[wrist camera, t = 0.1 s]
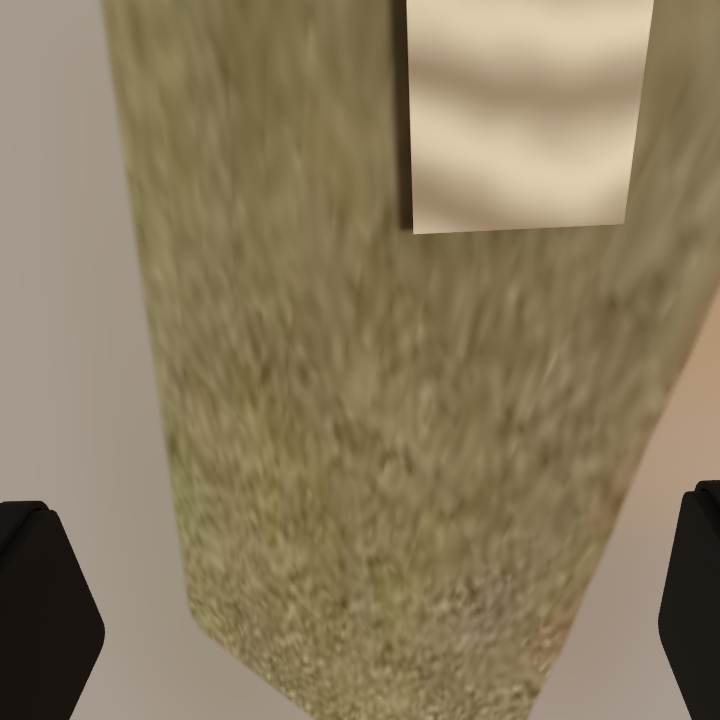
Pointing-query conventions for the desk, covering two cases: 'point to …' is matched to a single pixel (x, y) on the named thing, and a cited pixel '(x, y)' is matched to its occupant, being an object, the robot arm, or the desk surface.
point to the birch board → (523, 111)
